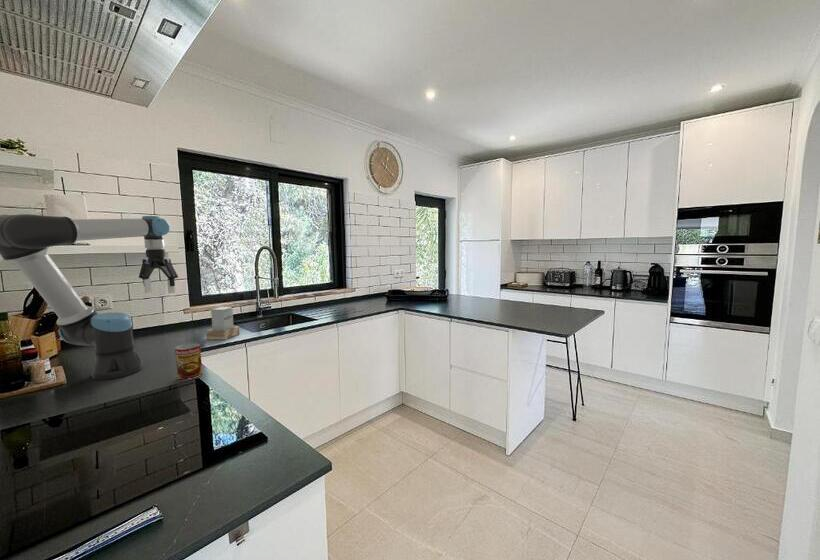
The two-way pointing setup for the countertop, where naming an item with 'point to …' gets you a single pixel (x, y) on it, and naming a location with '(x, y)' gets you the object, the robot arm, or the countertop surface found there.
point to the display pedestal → (222, 333)
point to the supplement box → (222, 318)
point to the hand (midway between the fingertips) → (159, 292)
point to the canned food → (188, 360)
